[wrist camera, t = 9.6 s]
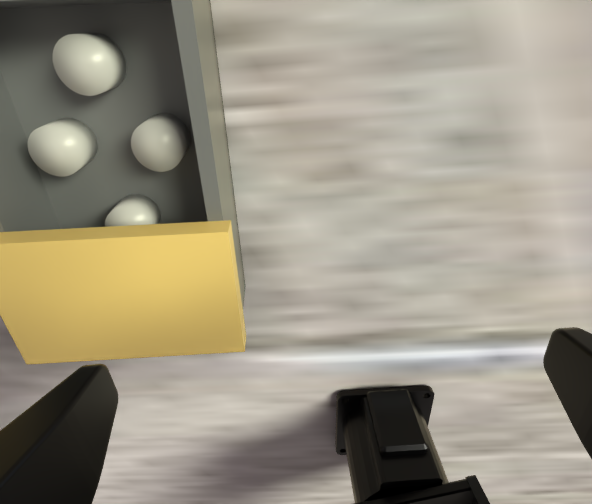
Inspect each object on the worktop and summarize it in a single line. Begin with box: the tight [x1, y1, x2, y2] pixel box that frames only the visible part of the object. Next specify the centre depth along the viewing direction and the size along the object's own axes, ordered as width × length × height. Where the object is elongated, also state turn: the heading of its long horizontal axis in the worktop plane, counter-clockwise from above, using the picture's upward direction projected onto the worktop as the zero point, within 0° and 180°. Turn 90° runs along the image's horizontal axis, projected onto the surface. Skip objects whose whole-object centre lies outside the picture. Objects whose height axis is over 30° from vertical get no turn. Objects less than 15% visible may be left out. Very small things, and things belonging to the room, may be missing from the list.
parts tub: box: [0, 0, 246, 364], centre depth 16 cm, size 14×10×5 cm
